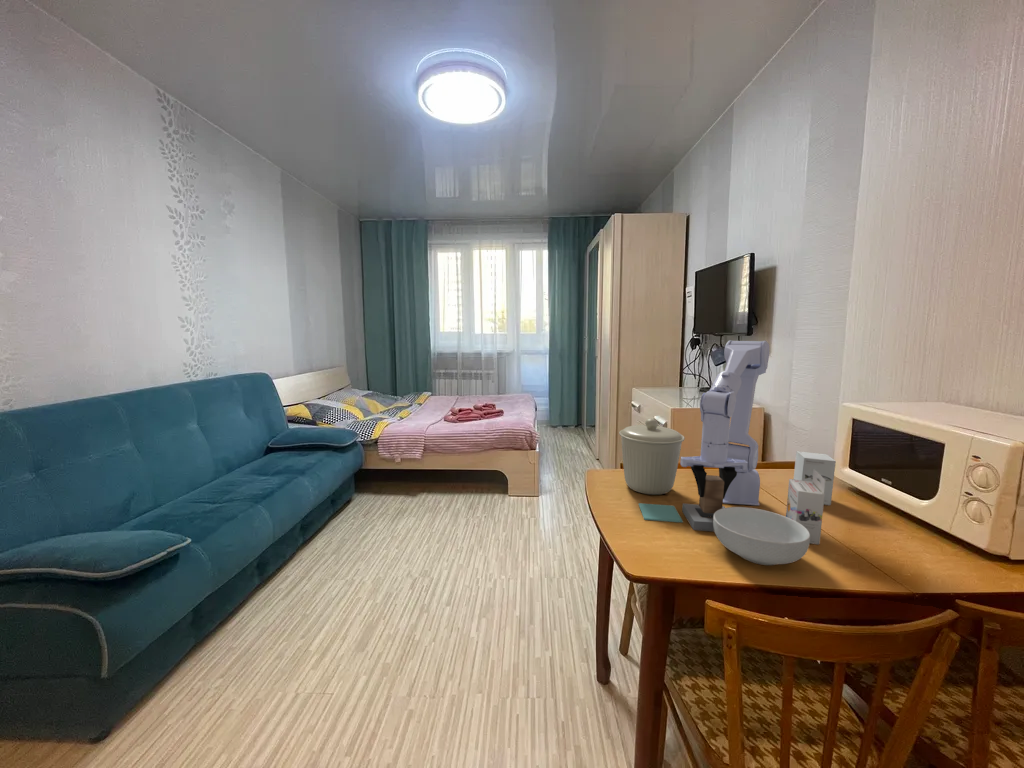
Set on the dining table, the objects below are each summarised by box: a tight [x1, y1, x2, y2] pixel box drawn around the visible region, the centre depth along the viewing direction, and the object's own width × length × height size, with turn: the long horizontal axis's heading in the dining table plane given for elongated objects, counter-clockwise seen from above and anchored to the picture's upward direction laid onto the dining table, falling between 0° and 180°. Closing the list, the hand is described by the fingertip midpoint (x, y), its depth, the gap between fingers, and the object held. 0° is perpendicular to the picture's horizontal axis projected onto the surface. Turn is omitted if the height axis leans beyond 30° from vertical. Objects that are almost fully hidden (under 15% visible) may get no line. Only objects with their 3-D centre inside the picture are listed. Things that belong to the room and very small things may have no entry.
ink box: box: [785, 469, 826, 545], centre depth 91 cm, size 8×5×15 cm, turn 158°
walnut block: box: [698, 474, 724, 513], centre depth 97 cm, size 4×4×8 cm
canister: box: [618, 418, 686, 496], centre depth 118 cm, size 18×18×21 cm
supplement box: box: [793, 450, 836, 506], centre depth 112 cm, size 7×7×13 cm
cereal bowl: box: [712, 506, 811, 566], centre depth 83 cm, size 17×17×7 cm
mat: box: [638, 502, 684, 524], centre depth 103 cm, size 9×9×1 cm
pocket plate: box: [681, 503, 726, 533], centre depth 98 cm, size 10×10×2 cm
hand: (711, 496), depth 97 cm, fingers closed on walnut block, 4 cm apart
